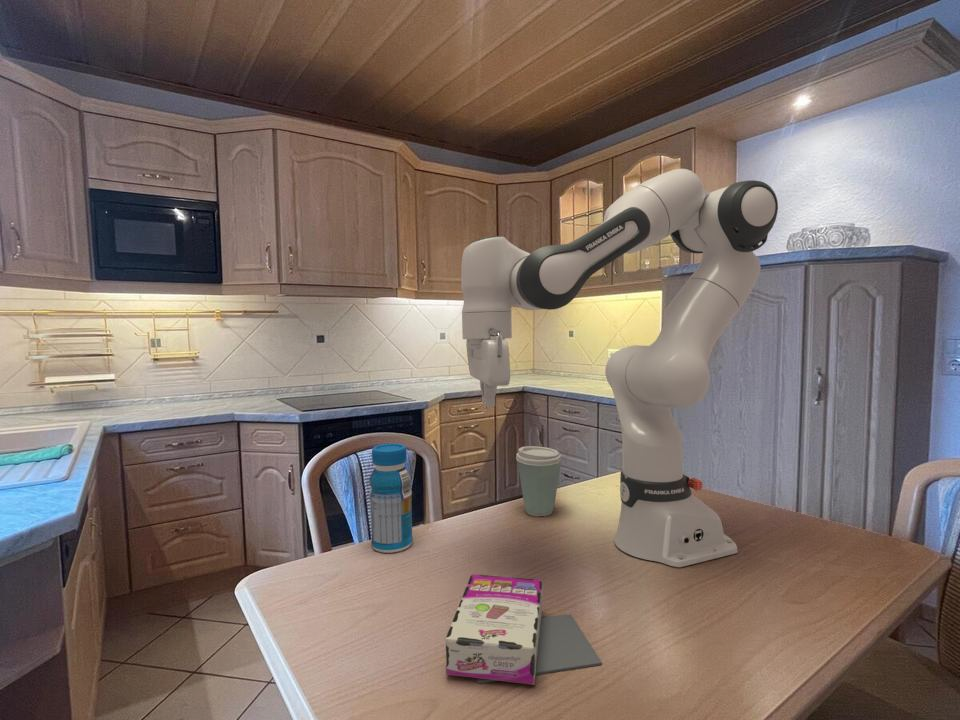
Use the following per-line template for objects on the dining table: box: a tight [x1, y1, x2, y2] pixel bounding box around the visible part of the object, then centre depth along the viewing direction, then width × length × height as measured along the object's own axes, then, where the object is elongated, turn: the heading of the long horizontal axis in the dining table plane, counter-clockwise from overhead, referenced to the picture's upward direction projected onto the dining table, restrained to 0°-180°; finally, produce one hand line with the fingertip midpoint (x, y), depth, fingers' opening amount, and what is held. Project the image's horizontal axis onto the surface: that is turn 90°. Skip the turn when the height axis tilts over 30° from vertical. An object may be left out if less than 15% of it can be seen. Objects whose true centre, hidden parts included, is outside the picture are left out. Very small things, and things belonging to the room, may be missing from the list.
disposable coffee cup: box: [515, 445, 563, 518], centre depth 115 cm, size 11×11×15 cm
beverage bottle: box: [368, 443, 414, 554], centre depth 99 cm, size 8×8×20 cm
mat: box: [476, 613, 603, 684], centre depth 67 cm, size 16×11×1 cm
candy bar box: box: [445, 573, 543, 686], centre depth 67 cm, size 11×5×16 cm
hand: (488, 406), depth 89 cm, fingers closed
